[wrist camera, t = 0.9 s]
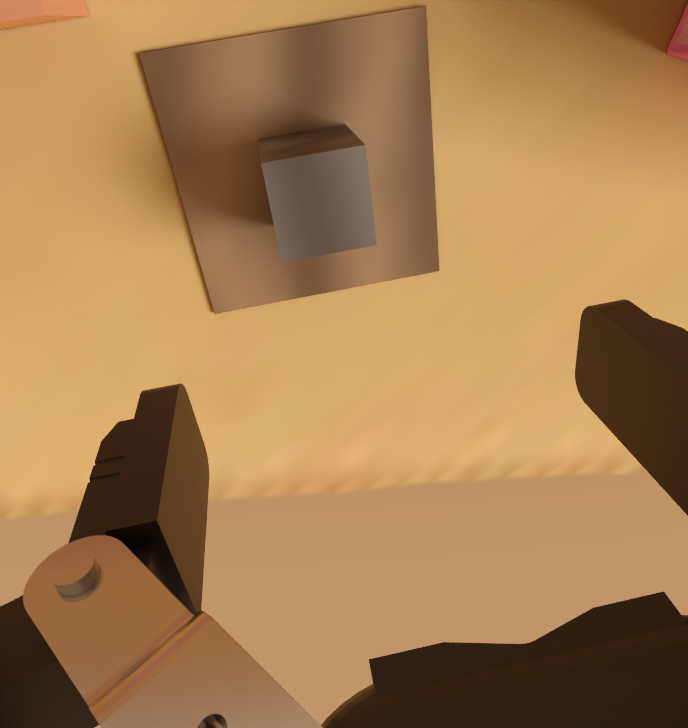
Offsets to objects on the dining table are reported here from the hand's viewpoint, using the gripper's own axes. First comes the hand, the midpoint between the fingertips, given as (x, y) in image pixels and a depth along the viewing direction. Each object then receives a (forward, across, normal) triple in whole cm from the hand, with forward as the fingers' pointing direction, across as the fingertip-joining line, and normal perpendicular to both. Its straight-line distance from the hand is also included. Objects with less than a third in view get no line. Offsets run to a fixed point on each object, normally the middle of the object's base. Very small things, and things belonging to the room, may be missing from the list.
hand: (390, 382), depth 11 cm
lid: (+19, 0, 0) cm, 19 cm away
